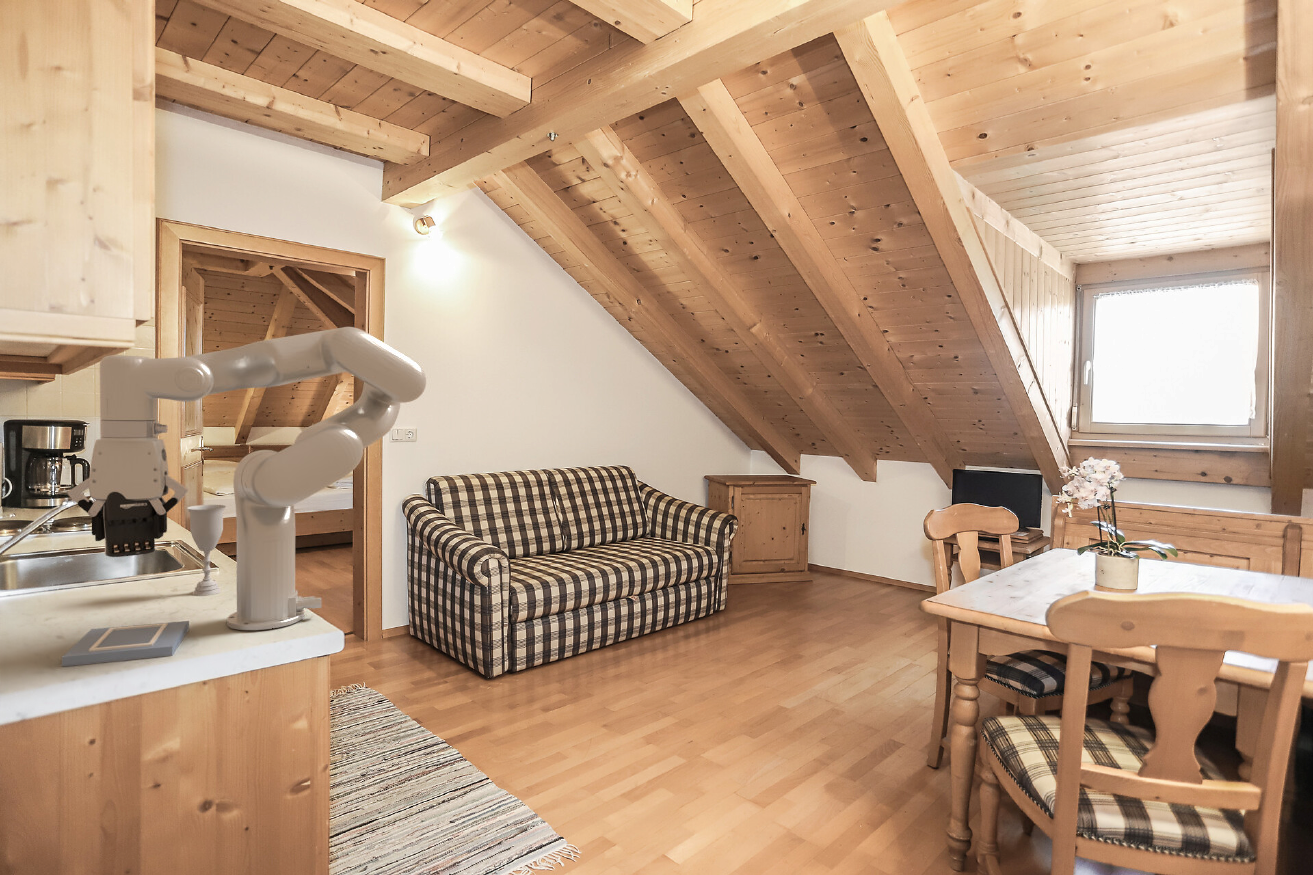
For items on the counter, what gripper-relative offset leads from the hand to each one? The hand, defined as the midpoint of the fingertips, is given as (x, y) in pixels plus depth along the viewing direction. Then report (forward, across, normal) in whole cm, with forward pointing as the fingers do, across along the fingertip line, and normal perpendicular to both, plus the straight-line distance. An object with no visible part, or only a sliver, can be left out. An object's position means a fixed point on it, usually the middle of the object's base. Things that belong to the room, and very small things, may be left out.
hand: (130, 537), depth 118 cm
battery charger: (+3, 0, 0) cm, 3 cm away
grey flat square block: (+18, 0, +2) cm, 18 cm away
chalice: (+18, -5, -32) cm, 37 cm away
